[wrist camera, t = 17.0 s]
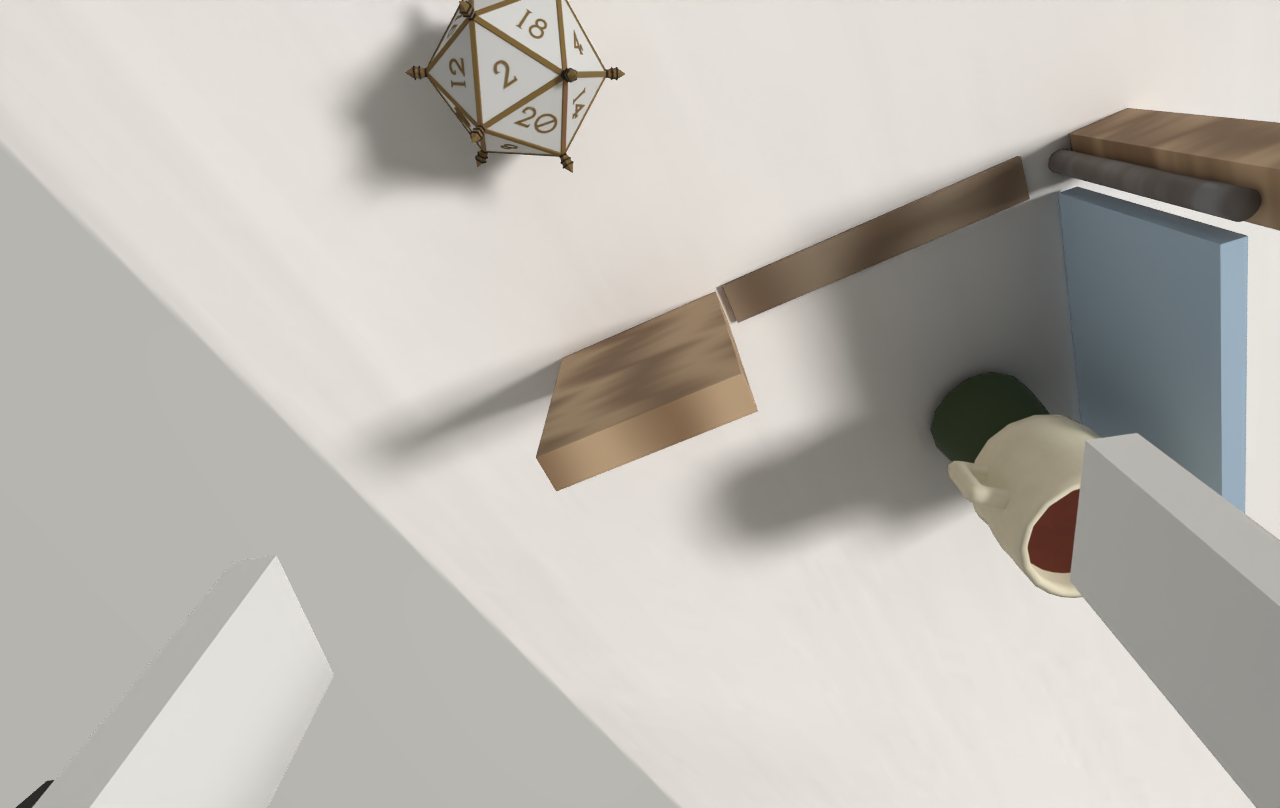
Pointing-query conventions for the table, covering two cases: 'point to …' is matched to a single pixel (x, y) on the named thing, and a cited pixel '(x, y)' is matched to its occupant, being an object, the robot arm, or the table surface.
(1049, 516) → the character mug
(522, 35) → the game die
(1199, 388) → the door
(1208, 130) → the door frame
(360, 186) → the table surface
